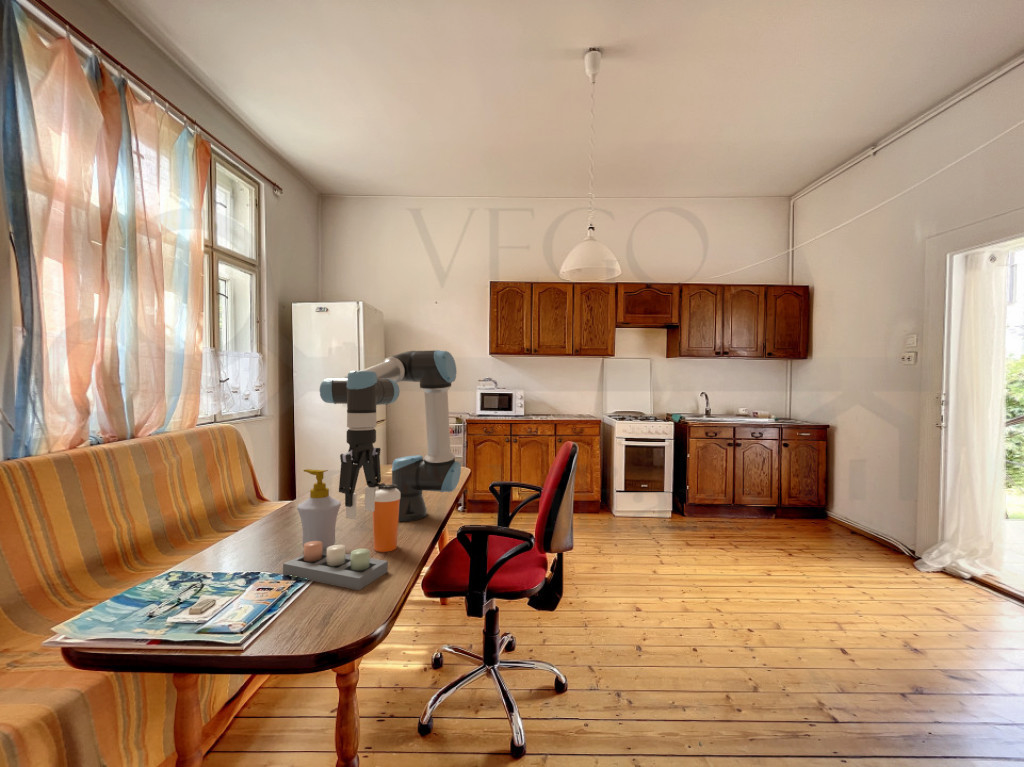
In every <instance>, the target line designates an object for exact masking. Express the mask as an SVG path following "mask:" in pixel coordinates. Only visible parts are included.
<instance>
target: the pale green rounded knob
mask: <svg viewBox="0 0 1024 767" xmlns="http://www.w3.org/2000/svg"><path fill="white" fill-rule="evenodd" d="M370 552H371V551H370V549H368V548H357V549H354V550H351V551H350V555H351V569H352V570H364V569H367V568H368V567H369V566H370V558H371V556H370V554H371V553H370Z"/></svg>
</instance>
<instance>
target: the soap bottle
mask: <svg viewBox="0 0 1024 767" xmlns="http://www.w3.org/2000/svg"><path fill="white" fill-rule="evenodd" d="M328 470H329V469H325V470H324V469H312V468H311V469H310V468H309V469H308V468H307V469H303V473H304V472H305V473H309V474H310V475H313V476H315V479H316V480H317V481H316V482H315V483H314V484H313V488H311V489H310V492H309V493H310V494H309V498H308V499H306V500H305V501H303V502H301V503H299V504H297V508H296V509H297V511H298V513H299V517H300V522H301V527H302V548H303V549H304V544H305V543H307V542H311V541H321V542H322V550H327V548H328V547H329V546H332V545H336V544H335V543H336V524H337V518H338V514H339V511H340V508H341V506H342V505H341V504H342V503H341V500H338V499H336V498H333V497H332V496H331V495H329V493H330V489H329V487H327V485H326V484H327V483H325V482H323V480H324V473H326V472H328Z"/></svg>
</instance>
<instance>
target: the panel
mask: <svg viewBox="0 0 1024 767" xmlns="http://www.w3.org/2000/svg"><path fill="white" fill-rule="evenodd" d="M388 564H389V561H388V560H385V559H383V560H382V559H379V558H373V557H370V566H369V567H368V568H367V569H364V570H352V569H351V553H345V563H343V564H341V565H337V566H329V565H327V550H322V558H321V559H320V560H317V561H311V562H308V561H304V553H303V554H301V555H299V556H297V557H295V558H293V559H291V560H288V561H286V562H284V563H282V575H283V576H287V575H292V576H297V577H302V578H307V579H309V580H308V581H311V582H317V583H322V584H327V585H331V586H336V587H341V588H346V589H350V590H355V591H360V590H362V589H364V588H365V587H367V586H368V585H370V584H371V583H372V582H374V581H376V580H377V579H380V578H381V577H382V576H383V575H386V574H387V573H388V572H389V570H388V569H389V567H388V566H389V565H388Z"/></svg>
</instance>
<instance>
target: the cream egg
mask: <svg viewBox="0 0 1024 767" xmlns="http://www.w3.org/2000/svg"><path fill="white" fill-rule="evenodd" d="M345 554H346V545H345V544H334V545H332V546H329V547H328V548H327V565H329V566H337V565H341V564H343V563H345Z"/></svg>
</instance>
